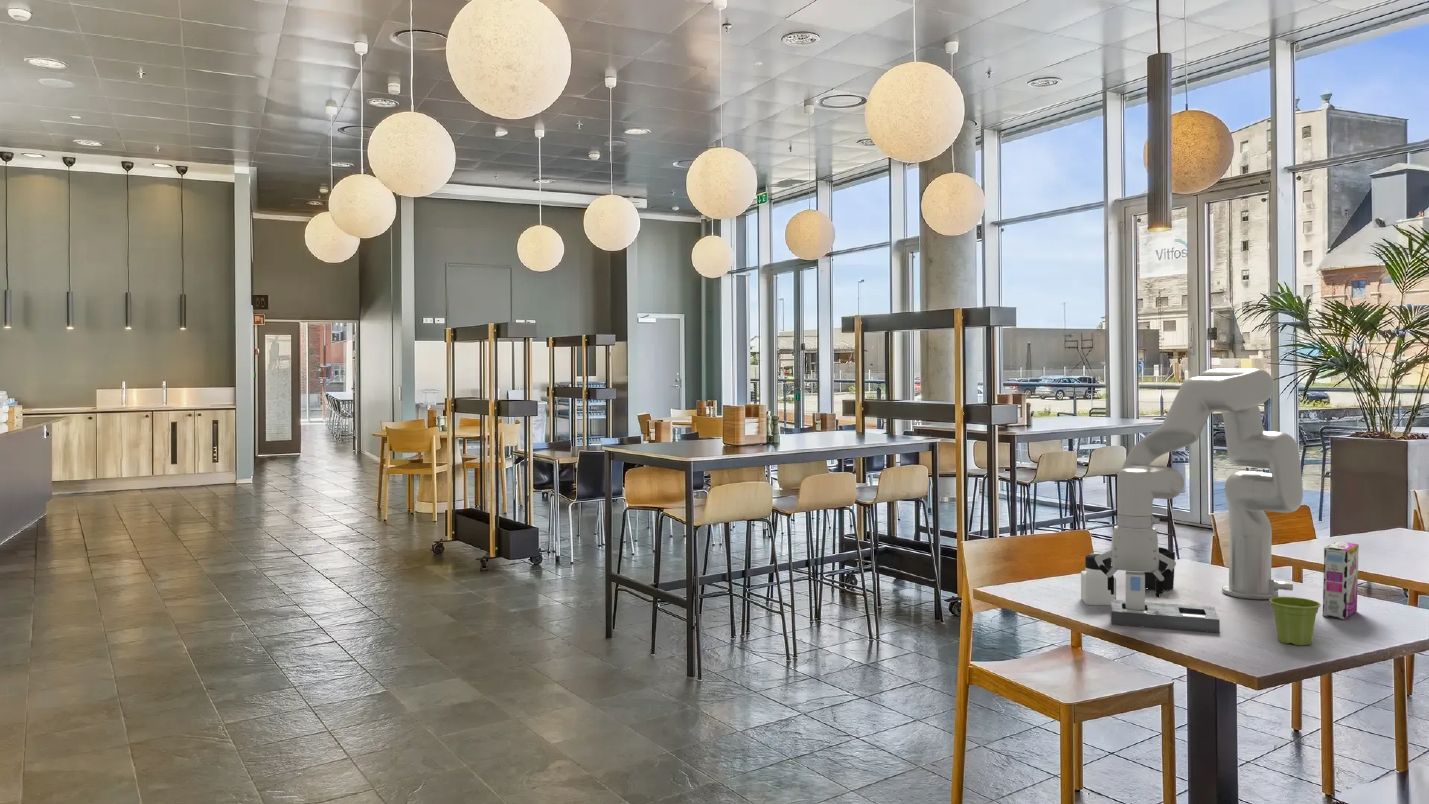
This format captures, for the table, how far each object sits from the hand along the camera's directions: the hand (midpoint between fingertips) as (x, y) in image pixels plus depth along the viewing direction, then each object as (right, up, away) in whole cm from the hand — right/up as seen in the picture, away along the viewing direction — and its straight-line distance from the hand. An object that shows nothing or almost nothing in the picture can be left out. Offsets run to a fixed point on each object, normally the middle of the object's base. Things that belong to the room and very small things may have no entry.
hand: (1134, 595), depth 223 cm
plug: (0, -6, 0) cm, 6 cm away
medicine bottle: (-2, -6, +17) cm, 18 cm away
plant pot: (+26, -6, -19) cm, 33 cm away
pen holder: (+20, -5, +32) cm, 38 cm away
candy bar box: (+50, -5, +3) cm, 50 cm away
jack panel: (+6, -6, -2) cm, 8 cm away
